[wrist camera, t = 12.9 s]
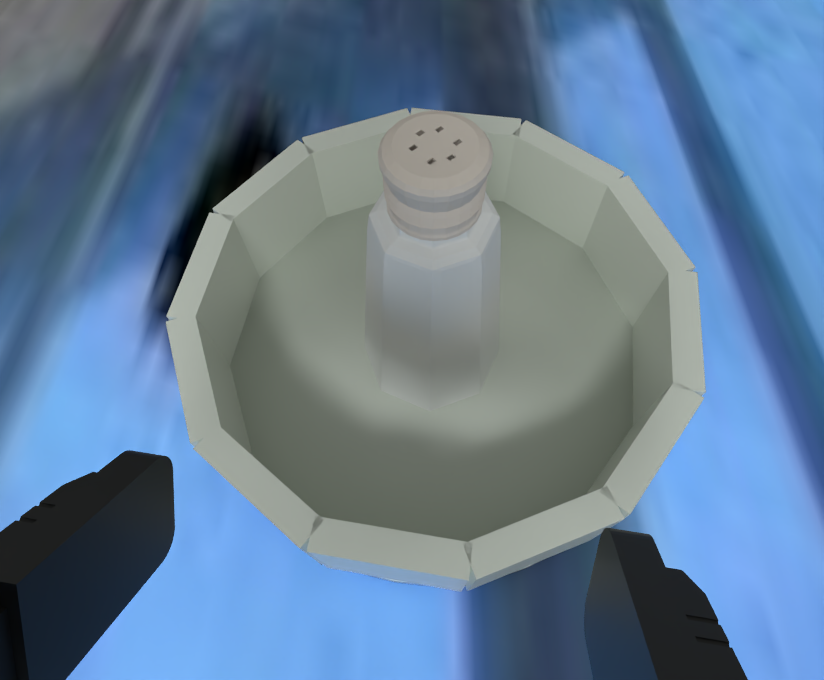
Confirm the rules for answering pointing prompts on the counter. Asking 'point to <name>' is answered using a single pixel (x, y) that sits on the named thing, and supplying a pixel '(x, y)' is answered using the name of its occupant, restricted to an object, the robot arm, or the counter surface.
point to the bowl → (457, 422)
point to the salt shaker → (433, 262)
